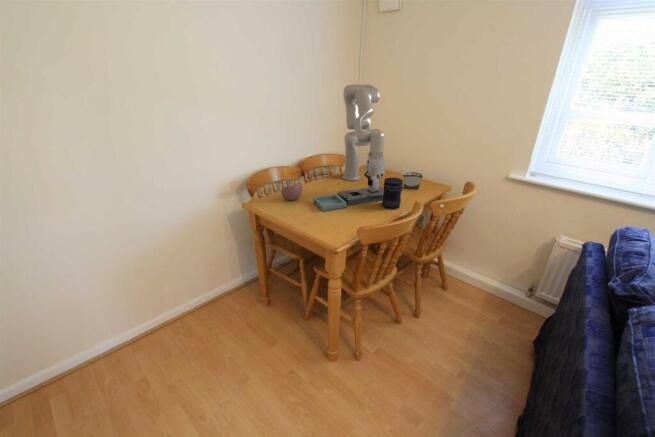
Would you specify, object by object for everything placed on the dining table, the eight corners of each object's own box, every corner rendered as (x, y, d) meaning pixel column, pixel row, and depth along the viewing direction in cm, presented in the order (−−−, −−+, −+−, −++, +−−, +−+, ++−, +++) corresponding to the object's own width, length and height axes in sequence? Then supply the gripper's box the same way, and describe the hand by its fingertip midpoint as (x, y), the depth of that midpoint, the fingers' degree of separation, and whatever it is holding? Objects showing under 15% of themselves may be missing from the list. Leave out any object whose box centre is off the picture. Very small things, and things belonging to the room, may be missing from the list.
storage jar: (396, 211, 162) (399, 184, 156) (379, 207, 167) (381, 181, 160) (402, 204, 170) (405, 179, 163) (386, 201, 174) (388, 176, 168)
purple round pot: (293, 194, 184) (292, 176, 179) (306, 199, 176) (306, 180, 171) (277, 199, 176) (276, 180, 171) (290, 205, 169) (289, 185, 164)
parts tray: (313, 202, 172) (313, 197, 171) (335, 198, 177) (336, 194, 176) (322, 211, 161) (322, 206, 159) (346, 207, 166) (346, 202, 164)
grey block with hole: (337, 197, 180) (337, 191, 178) (378, 191, 189) (378, 185, 188) (348, 205, 168) (348, 200, 166) (390, 198, 178) (391, 193, 176)
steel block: (367, 191, 181) (368, 177, 177) (374, 190, 183) (375, 176, 179) (371, 194, 177) (372, 179, 173) (378, 193, 179) (379, 178, 175)
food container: (419, 186, 197) (421, 171, 193) (420, 190, 191) (423, 174, 187) (400, 186, 198) (401, 171, 194) (401, 189, 192) (402, 174, 188)
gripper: (366, 157, 164) (364, 189, 172) (392, 154, 170) (389, 185, 178) (359, 154, 170) (357, 184, 178) (385, 151, 176) (382, 181, 184)
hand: (373, 184), depth 178 cm, fingers closed on steel block, 4 cm apart
